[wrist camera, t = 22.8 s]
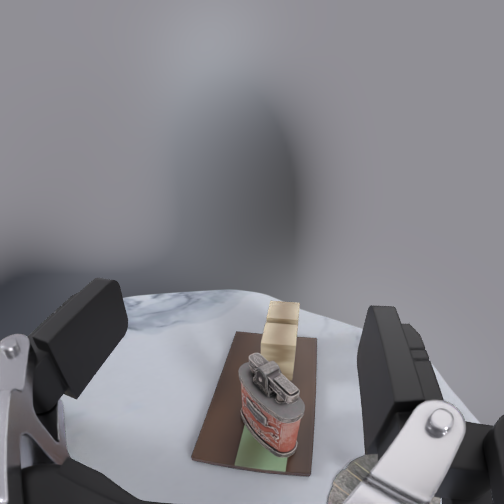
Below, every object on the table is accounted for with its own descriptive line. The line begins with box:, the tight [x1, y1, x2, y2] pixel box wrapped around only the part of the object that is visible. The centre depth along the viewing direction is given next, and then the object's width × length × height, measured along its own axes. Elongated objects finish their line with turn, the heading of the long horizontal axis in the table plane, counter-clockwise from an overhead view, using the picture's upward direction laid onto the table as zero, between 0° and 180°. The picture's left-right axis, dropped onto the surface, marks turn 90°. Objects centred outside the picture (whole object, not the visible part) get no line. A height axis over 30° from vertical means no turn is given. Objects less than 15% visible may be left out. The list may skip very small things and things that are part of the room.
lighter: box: [238, 353, 305, 458], centre depth 26 cm, size 8×3×10 cm, turn 34°
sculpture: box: [328, 454, 441, 504], centre depth 20 cm, size 12×9×8 cm
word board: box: [191, 301, 317, 476], centre depth 33 cm, size 12×22×7 cm, turn 170°
